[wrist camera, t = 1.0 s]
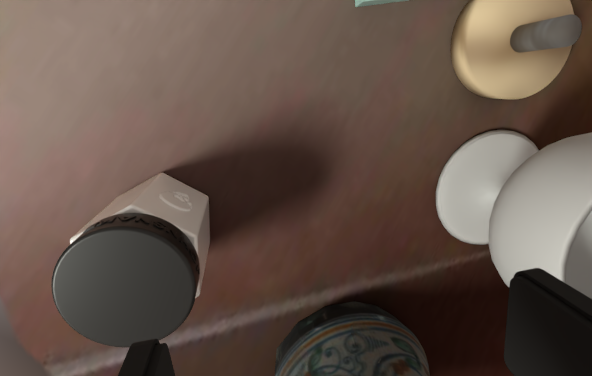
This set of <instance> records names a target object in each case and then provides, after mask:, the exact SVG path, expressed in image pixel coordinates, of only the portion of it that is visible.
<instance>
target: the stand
mask: <svg viewBox="0 0 592 376" xmlns="http://www.w3.org/2000/svg"><path fill="white" fill-rule="evenodd" d="M400 1H407V0H355V7H361V6H369V5H376V4H384V3H392V2H400Z"/></svg>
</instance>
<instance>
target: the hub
mask: <svg viewBox="0 0 592 376" xmlns="http://www.w3.org/2000/svg"><path fill="white" fill-rule="evenodd" d="M581 30H582V24H581V21H580V19H579V18H578V17H577V16H576V15H574V12H573V8H572V5H571V2H570V0H469V2H468V3H467V4H466V5H465V7H464V8H463V9H462V11H461V13H460V15H459V16H458V18H457V21H456V23H455V26H454V29H453V33H452V38H451V59H452V64H453V67H454V70H455V73H456V75H457V77H458V79H459V80H460V82H461V83H462V84H463V85H464V86H465V87H466V88H467V89H468V90H469V91H470V92H472V93H474V94H476V95H478V96H481V97H484V98H493V99H521V98H525V97H528V96H531V95H533V94H535V93H537V92H539V91H540V90H542V89H543V88H545V87H546V86H547V85H548V84H549V83H550V82H551V81H552V80H553V79H554V78H555V77H556V76H557V75H558V73H559V72H560V71H561V69H562V67H563V66H564V64H565V62H566V60H567V58H568V56H569V53H570V51H571V48H572V45H573V44H574V43H575V42H576V41H577V40H578V38H579V37H580V34H581Z"/></svg>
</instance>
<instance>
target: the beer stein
mask: <svg viewBox="0 0 592 376" xmlns="http://www.w3.org/2000/svg"><path fill="white" fill-rule="evenodd" d="M275 376H430V373H429V366H428V362H427V357H426V354H425V352H424V349H423V347H422V346H421V344H420V342H419V340H418V339H417V337H416V336H415V335H414V334H413V333H412V332H411V331H410V330H409V329H408V328H407V327H406V326H404V325H403V324H402V323H401V322H400V321H399V320H398V319H397V318H395V317H394V316H393V315H391V314H389V313H388V312H386V311H384V310H383V309H381V308H379V307H378V306H376V305H371V304H366V303H360V302H355V301H354V302H348V303H342V304H337V305H331V306H326V307H324V308H322V309H320V310H319V311H317V312H315V313H313V314H312V315H310V316H308V317H307V318H305V319H303V320H301V321H300V322H298V323H297V324H296V326H295V327H294V328H293V329H292V331H291V332H290V333H289V334H288V336H287V337H286V338H285V339H284V341H283V342H282V343H281V344H280V345H279V347H278V348H277V354H276V366H275Z"/></svg>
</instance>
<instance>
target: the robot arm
mask: <svg viewBox="0 0 592 376" xmlns="http://www.w3.org/2000/svg"><path fill="white" fill-rule="evenodd" d="M504 360H505V363H506V365H507V367H508V369H509V370H510V371H511V372H512V373H513V374H514V375H515V376H592V299H591V298H589V297H588V296H586V295H584V294H583V293H581V292H579V291H578V290H576V289H574V288H573V287H571V286H569V285H568V284H566V283H564V282H563V281H561V280H559V279H558V278H556V277H554V276H553V275H551V274H549V273H548V272H546V271H544V270H543V269H540V268H533V269H528V270H523V271H518V272H516V273H515V275H514V278H512V279H511V280H510V287H509V299H508V312H507V324H506V336H505V349H504ZM118 376H175V373H174V369H173V365H172V361H171V357H170V353H169V349H168V346H167V344H166V343H163V344H160V343H159V340H158V339H151V340H146V341H140V342H135V343H133V344H131V346H130V348H129V351H128V353H127V355H126V358H125V360H124V363H123V365H122V367H121V370H120V372H119V375H118Z"/></svg>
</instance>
